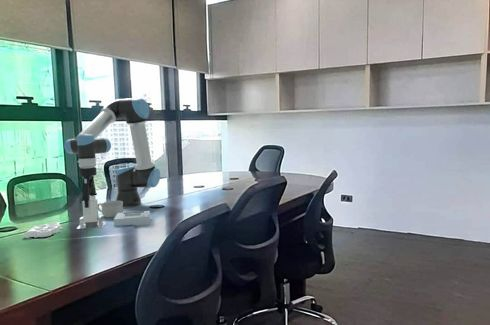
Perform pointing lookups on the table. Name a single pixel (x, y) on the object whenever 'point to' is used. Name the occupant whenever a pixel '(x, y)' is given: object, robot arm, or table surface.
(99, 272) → the table surface
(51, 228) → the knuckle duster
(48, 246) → the table surface
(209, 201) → the table surface
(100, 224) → the holster
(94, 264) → the table surface
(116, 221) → the switch box
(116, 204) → the teacup
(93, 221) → the plug
